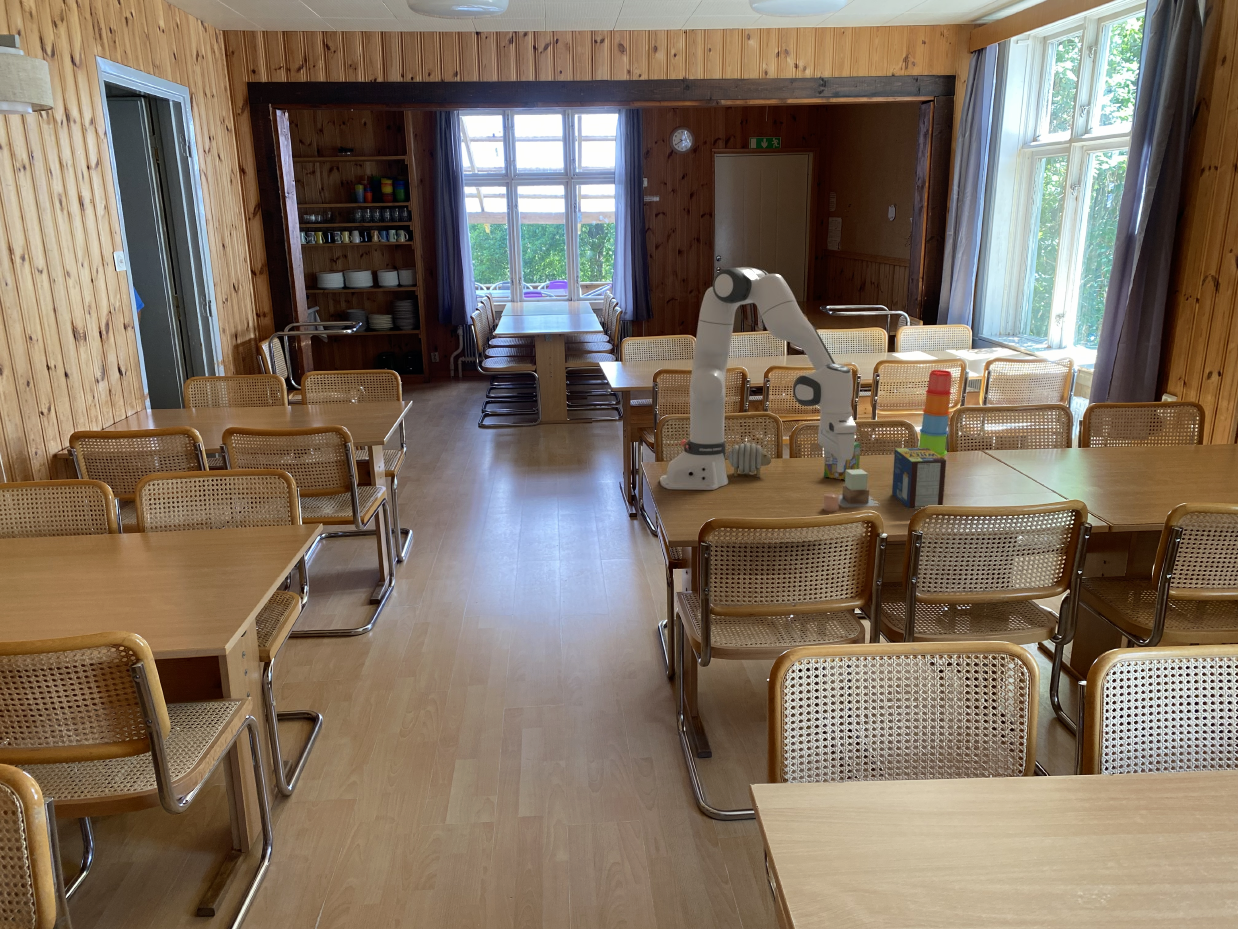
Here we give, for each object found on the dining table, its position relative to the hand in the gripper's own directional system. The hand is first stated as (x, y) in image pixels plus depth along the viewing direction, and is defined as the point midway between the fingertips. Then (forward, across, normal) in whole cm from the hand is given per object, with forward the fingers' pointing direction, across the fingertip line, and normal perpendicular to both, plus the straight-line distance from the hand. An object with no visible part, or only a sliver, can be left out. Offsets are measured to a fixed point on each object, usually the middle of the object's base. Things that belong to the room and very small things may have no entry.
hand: (834, 467), depth 262 cm
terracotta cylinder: (+14, 0, 0) cm, 14 cm away
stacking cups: (+14, -37, +47) cm, 61 cm away
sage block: (+9, -7, +10) cm, 15 cm away
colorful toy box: (+14, -36, +16) cm, 42 cm away
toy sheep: (+13, -43, -15) cm, 48 cm away
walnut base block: (+13, -7, +10) cm, 17 cm away
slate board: (+14, -7, +10) cm, 18 cm away
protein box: (+14, -4, +28) cm, 31 cm away
